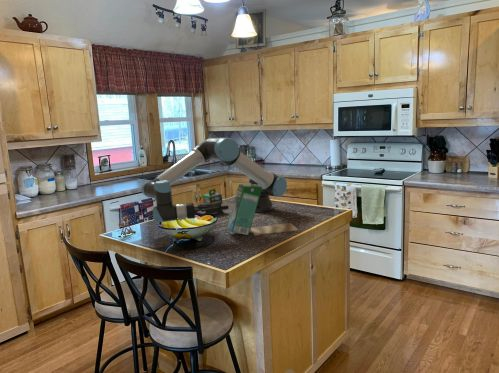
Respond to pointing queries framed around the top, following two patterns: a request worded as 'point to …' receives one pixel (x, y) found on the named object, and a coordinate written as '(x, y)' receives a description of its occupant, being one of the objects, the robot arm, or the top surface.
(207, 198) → the chalk box
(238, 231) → the milk carton
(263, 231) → the cork mat
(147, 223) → the top surface
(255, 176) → the robot arm
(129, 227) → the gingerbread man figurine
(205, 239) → the top surface
